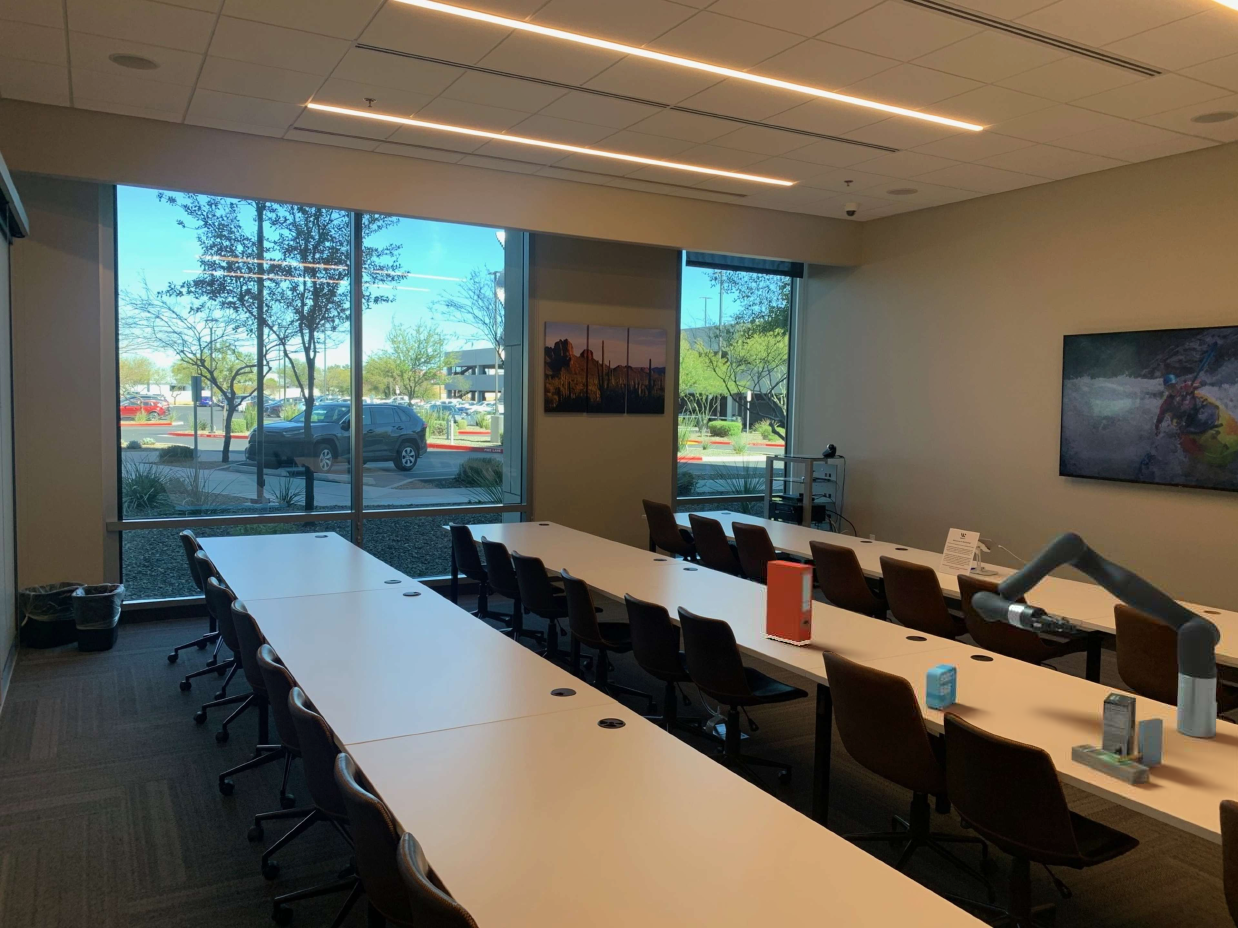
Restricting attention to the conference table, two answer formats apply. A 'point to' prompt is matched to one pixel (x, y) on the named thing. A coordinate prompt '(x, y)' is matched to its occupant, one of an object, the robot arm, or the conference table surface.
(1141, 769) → the frame
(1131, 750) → the coffee box
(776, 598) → the file binder
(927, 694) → the data package
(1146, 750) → the blue-grey flat panel
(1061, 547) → the robot arm
